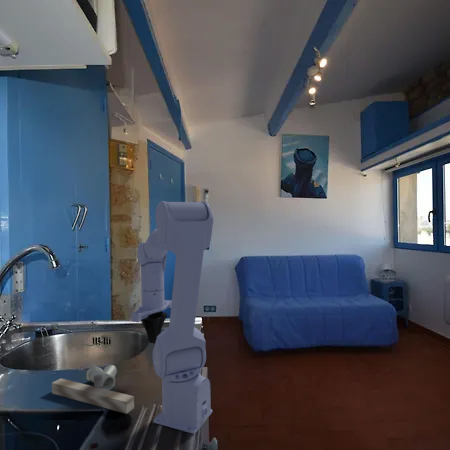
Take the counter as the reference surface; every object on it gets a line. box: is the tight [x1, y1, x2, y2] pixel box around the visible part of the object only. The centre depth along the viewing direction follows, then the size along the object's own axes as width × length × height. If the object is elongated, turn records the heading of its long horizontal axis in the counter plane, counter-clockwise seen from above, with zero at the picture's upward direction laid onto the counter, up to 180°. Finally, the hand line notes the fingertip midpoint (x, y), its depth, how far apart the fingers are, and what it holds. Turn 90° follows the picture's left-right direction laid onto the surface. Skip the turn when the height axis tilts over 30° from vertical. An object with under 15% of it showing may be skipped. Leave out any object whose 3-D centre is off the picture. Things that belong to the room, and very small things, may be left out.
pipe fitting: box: [85, 364, 118, 391], centre depth 83 cm, size 8×4×7 cm
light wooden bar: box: [51, 375, 135, 415], centre depth 75 cm, size 22×4×4 cm, turn 67°
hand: (154, 342), depth 85 cm, fingers closed
